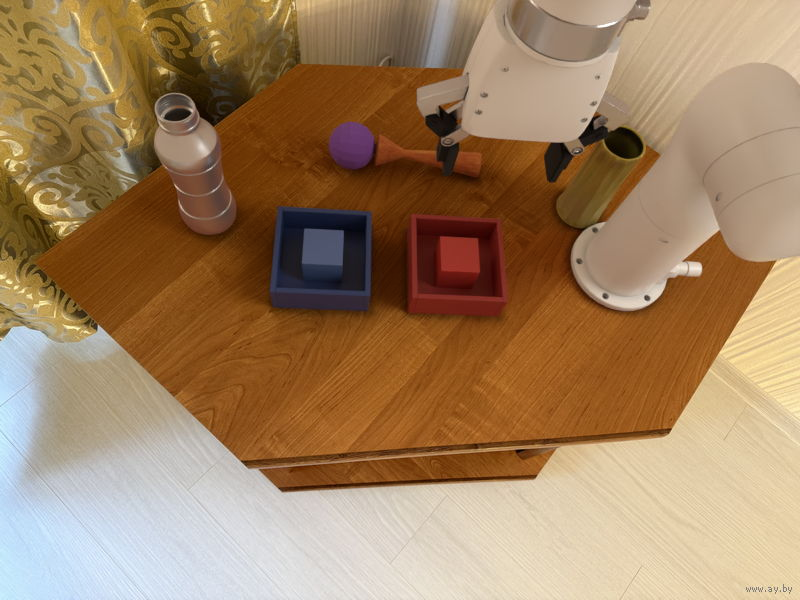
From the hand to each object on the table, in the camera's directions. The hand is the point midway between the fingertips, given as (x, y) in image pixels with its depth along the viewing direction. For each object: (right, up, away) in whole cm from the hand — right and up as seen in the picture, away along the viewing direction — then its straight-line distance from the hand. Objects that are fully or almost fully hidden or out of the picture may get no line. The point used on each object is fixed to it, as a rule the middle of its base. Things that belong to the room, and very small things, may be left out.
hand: (498, 166), depth 54 cm
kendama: (-9, +6, +26) cm, 28 cm away
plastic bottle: (-32, -2, +20) cm, 38 cm away
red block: (-2, -9, +20) cm, 22 cm away
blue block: (-18, -8, +18) cm, 27 cm away
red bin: (-3, -9, +20) cm, 22 cm away
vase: (+15, 0, +26) cm, 30 cm away
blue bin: (-18, -8, +19) cm, 27 cm away
